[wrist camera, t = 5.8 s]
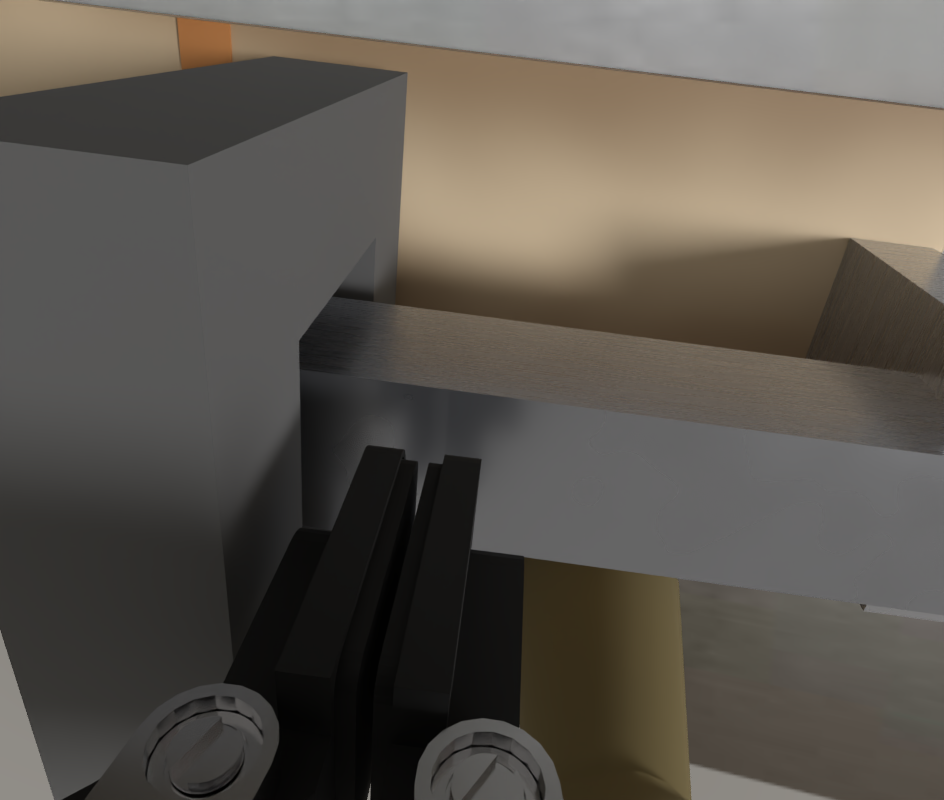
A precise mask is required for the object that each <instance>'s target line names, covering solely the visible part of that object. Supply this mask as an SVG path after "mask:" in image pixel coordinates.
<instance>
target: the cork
mask: <svg viewBox="0 0 944 800" xmlns="http://www.w3.org/2000/svg"><path fill="white" fill-rule="evenodd" d="M520 729H523V730H524V731H525V732H527V733H528V734H529V735H530V736H531V737H533V738H534V739H535V740H536V741H538V742H539V743H540V744H541V745H542V747H543V748H544V750H545V751H546V752H547V754H548V755H549V757H550V758H551V760H552V761H553V763H554V766H555V769H556V772H557V775H558V778H559V781H560V785H561V790H562V796H563V800H691V785H690V768H689V751H688V733H687V716H686V699H685V682H684V665H683V647H682V630H681V613H680V596H679V582H678V580H677V578H671V577H664V576H657V575H649V574H642V573H635V572H628V571H621V570H614V569H606V568H599V567H592V566H585V565H578V564H571V563H563V562H556V561H549V560H542V559H535V558H527V557H524V594H523V627H522V661H521V694H520Z"/></svg>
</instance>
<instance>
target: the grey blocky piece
mask: <svg viewBox="0 0 944 800" xmlns="http://www.w3.org/2000/svg"><path fill="white" fill-rule="evenodd" d="M299 369H300V423H301V478H302V526H305V527H312V528H319V529H326V530H332V529H333V526H334V524H335V521H336V519H337V516H338V514H339V511H340V509H341V507H342V504H343V502H344V499H345V497H346V494H347V492H348V489H349V487H350V484H351V482H352V479H353V477H354V475H355V472H356V470H357V467H358V465H359V462H360V460H361V457H362V455H363V452H364V450H365V448H366V446H367V445H373V446H381V447H389V448H397V449H404V450H405V454H406V460H414V461H418V480H417V496H416V512H417V508H418V504H419V500H420V496H421V492H422V488H423V484H424V480H425V476H426V472H427V468H428V464H429V462H430V463H438V464H443V460H444V456H445V454H446V455H454V456H462V457H470V458H479V459H482V461H481V470H480V479H479V487H478V496H477V505H476V513H475V522H474V531H473V539H472V548H471V549H473V550H481V551H489V552H497V553H504V554H512V555H520V556H524V557H527V558H535V559H542V560H549V561H556V562H563V563H571V564H578V565H585V566H592V567H599V568H606V569H614V570H621V571H628V572H635V573H642V574H649V575H657V576H664V577H671V578H678V579H685V580H693V581H700V582H707V583H714V584H721V585H728V586H736V587H743V588H750V589H757V590H764V591H772V592H779V593H786V594H793V595H800V596H807V597H815V598H822V599H829V600H836V601H843V602H851V603H858V604H860V605H861V607H862V609H863V611H867V612H874V613H882V614H889V615H896V616H903V617H910V618H917V619H925V620H932V621H939V622H944V254H942V253H941V252H939V251H937V250H936V249H934V248H929V247H921V246H913V245H905V244H897V243H889V242H881V241H873V240H865V239H858V238H850V240H849V242H848V245H847V248H846V250H845V253H844V256H843V258H842V261H841V264H840V266H839V269H838V272H837V274H836V277H835V280H834V282H833V285H832V288H831V290H830V293H829V296H828V298H827V301H826V304H825V306H824V309H823V312H822V314H821V317H820V320H819V322H818V325H817V328H816V330H815V333H814V336H813V338H812V341H811V344H810V346H809V349H808V351H807V354H806V357H805V358H797V357H789V356H782V355H774V354H767V353H759V352H751V351H744V350H736V349H728V348H721V347H713V346H705V345H698V344H690V343H682V342H675V341H667V340H660V339H652V338H644V337H637V336H629V335H621V334H614V333H606V332H598V331H591V330H583V329H576V328H568V327H560V326H553V325H545V324H537V323H530V322H522V321H514V320H507V319H499V318H492V317H484V316H476V315H469V314H461V313H453V312H446V311H438V310H430V309H423V308H415V307H408V306H400V305H392V304H385V303H377V302H369V301H362V300H354V299H346V298H339V297H331V298H330V300H329V301H328V302H327V304H326V305H325V306H324V308H323V309H322V310H321V312H320V313H319V314H318V316H317V317H316V318H315V320H314V321H313V323H312V324H311V325H310V327H309V328H308V329H307V331H306V332H305V333H304V335H303V336H302V337H301V339H300V340H299ZM416 512H415V516H416Z"/></svg>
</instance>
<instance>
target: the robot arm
mask: <svg viewBox="0 0 944 800" xmlns="http://www.w3.org/2000/svg"><path fill="white" fill-rule="evenodd" d="M481 461H482V459H479V458H470V457H462V456H454V455H446V454H445V456H444V460H443V464H438V463H430V462H429V464H428V468H427V472H426V476H425V480H424V484H423V488H422V492H421V496H420V500H419V504H418V508H417V512H416V496H417V480H418V461H414V460H406V454H405V450H404V449H397V448H389V447H381V446H373V445H367V446H366V448H365V450H364V452H363V455H362V457H361V460H360V462H359V465H358V467H357V470H356V472H355V475H354V477H353V479H352V482H351V484H350V487H349V489H348V492H347V494H346V497H345V499H344V502H343V504H342V507H341V509H340V511H339V514H338V516H337V519H336V521H335V524H334V526H333V529H332V531H324V530H316V529H308V528H299V529H298V530H297V531H296V532H295V534H294V536H293V537H292V539H291V541H290V543H289V545H288V547H287V550H286V552H285V554H284V556H283V558H282V560H281V562H280V564H279V566H278V569H277V571H276V573H275V575H274V577H273V579H272V581H271V583H270V585H269V587H268V590H267V592H266V594H265V596H264V598H263V600H262V602H261V604H260V606H259V608H258V611H257V613H256V615H255V617H254V619H253V621H252V623H251V625H250V627H249V629H248V632H247V634H246V636H245V638H244V640H243V642H242V644H241V646H240V648H239V650H238V653H237V655H236V657H235V659H234V661H233V663H232V665H231V667H230V669H229V671H228V674H227V676H226V678H225V680H224V682H223V683H219V684H211V685H203V686H198V687H195V688H193V689H190V690H187V691H185V692H182V693H179V694H177V695H175V696H174V697H172V698H171V699H169V700H168V701H166V702H165V703H163V704H162V705H160V706H159V707H157V708H156V709H155V710H154V711H153V712H152V713H151V714H150V715H149V716H148V717H147V718H146V719H145V721H144V722H143V723H142V724H141V725H140V726H139V727H138V729H137V730H136V731H135V733H134V734H133V735H132V737H131V738H130V739H129V741H128V742H127V743H126V745H125V746H124V747H123V749H122V750H121V751H120V753H119V754H118V755H117V757H116V758H115V759H114V761H113V762H112V763H111V765H110V766H109V767H108V769H107V770H106V771H105V773H104V774H103V775H102V777H101V778H100V779H99V780H97V781H95V782H94V783H92V784H90V785H88V786H86V787H84V788H82V789H81V790H79V791H77V792H75V793H73V794H71V795H69V796H68V797H66V798H64V799H62V800H367V797H368V793H369V788H370V784H371V798H370V800H563V796H562V790H561V785H560V781H559V778H558V775H557V772H556V769H555V766H554V763H553V761H552V760H551V758H550V757H549V755H548V754H547V752H546V751H545V750H544V748H543V747H542V745H541V744H540V743H539V742H538V741H536V740H535V739H534V738H533V737H531V736H530V735H529V734H528V733H527V732H525V731H524V730H523V729H520V694H521V661H522V627H523V594H524V556H520V555H512V554H504V553H497V552H489V551H481V550H473V549H471V548H472V539H473V531H474V522H475V513H476V505H477V496H478V487H479V479H480V470H481ZM415 512H416V516H415Z"/></svg>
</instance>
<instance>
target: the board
mask: <svg viewBox="0 0 944 800" xmlns="http://www.w3.org/2000/svg"><path fill="white" fill-rule="evenodd" d="M272 56H277V57H285V58H293V59H302V60H310V61H318V62H326V63H334V64H342V65H350V66H359V67H367V68H375V69H383V70H391V71H399V72H408V77H407V95H406V114H405V132H404V151H403V169H402V188H401V206H400V224H399V243H398V261H397V280H396V298H395V305H400V306H408V307H415V308H423V309H430V310H438V311H446V312H453V313H461V314H469V315H476V316H484V317H492V318H499V319H507V320H514V321H522V322H530V323H537V324H545V325H553V326H560V327H568V328H576V329H583V330H591V331H598V332H606V333H614V334H621V335H629V336H637V337H644V338H652V339H660V340H667V341H675V342H682V343H690V344H698V345H705V346H713V347H721V348H728V349H736V350H744V351H751V352H759V353H767V354H774V355H782V356H789V357H797V358H805V357H806V354H807V351H808V349H809V346H810V344H811V341H812V338H813V336H814V333H815V330H816V328H817V325H818V322H819V320H820V317H821V314H822V312H823V309H824V306H825V304H826V301H827V298H828V296H829V293H830V290H831V288H832V285H833V282H834V280H835V277H836V274H837V272H838V269H839V266H840V264H841V261H842V258H843V256H844V253H845V250H846V248H847V245H848V242H849V240H850V238H858V239H865V240H873V241H881V242H889V243H897V244H905V245H913V246H921V247H929V248H934V249H936V250H937V251H939V252H941V253H942V252H943V249H944V109H943V108H935V107H926V106H918V105H910V104H902V103H894V102H885V101H877V100H869V99H861V98H852V97H844V96H836V95H828V94H820V93H811V92H803V91H795V90H787V89H778V88H770V87H762V86H754V85H746V84H737V83H729V82H721V81H713V80H704V79H696V78H688V77H680V76H671V75H663V74H655V73H647V72H639V71H630V70H622V69H614V68H606V67H597V66H589V65H581V64H573V63H565V62H556V61H548V60H540V59H532V58H523V57H515V56H507V55H499V54H491V53H482V52H474V51H466V50H458V49H449V48H441V47H433V46H425V45H417V44H408V43H400V42H392V41H384V40H375V39H367V38H359V37H351V36H343V35H334V34H326V33H318V32H310V31H301V30H293V29H285V28H277V27H269V26H260V25H252V24H244V23H236V22H227V21H219V20H211V19H203V18H195V17H186V16H178V15H170V14H162V13H153V12H145V11H137V10H129V9H121V8H112V7H104V6H96V5H88V4H79V3H71V2H63V1H55V0H0V97H2V96H9V95H16V94H22V93H29V92H36V91H43V90H49V89H56V88H63V87H70V86H76V85H83V84H90V83H96V82H103V81H110V80H117V79H123V78H130V77H137V76H144V75H150V74H157V73H164V72H171V71H177V70H184V69H191V68H197V67H204V66H211V65H218V64H224V63H231V62H238V61H245V60H251V59H258V58H265V57H272Z"/></svg>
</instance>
